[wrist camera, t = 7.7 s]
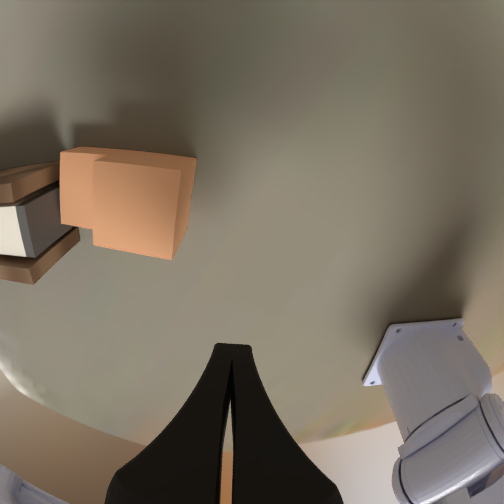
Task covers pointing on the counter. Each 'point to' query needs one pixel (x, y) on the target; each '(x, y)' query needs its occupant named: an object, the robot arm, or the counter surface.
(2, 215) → the sliding door
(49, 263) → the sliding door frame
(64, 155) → the peach two-level step
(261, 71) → the counter surface
